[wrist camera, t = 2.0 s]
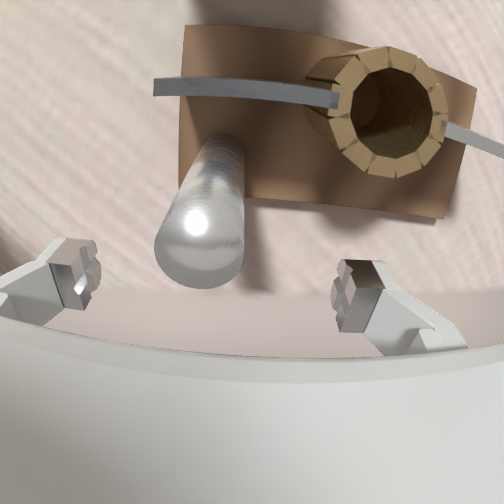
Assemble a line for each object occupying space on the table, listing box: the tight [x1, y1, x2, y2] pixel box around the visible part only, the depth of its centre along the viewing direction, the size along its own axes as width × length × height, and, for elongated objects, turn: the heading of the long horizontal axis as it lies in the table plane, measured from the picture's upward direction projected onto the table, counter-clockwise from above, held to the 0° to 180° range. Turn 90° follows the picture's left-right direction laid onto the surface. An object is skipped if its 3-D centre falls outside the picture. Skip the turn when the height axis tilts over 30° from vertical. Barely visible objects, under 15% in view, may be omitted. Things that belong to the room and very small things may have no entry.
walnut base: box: [179, 25, 477, 219], centre depth 20 cm, size 22×12×2 cm, turn 85°
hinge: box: [153, 46, 504, 178], centre depth 15 cm, size 22×6×7 cm, turn 85°
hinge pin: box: [154, 134, 245, 289], centre depth 15 cm, size 3×3×12 cm
